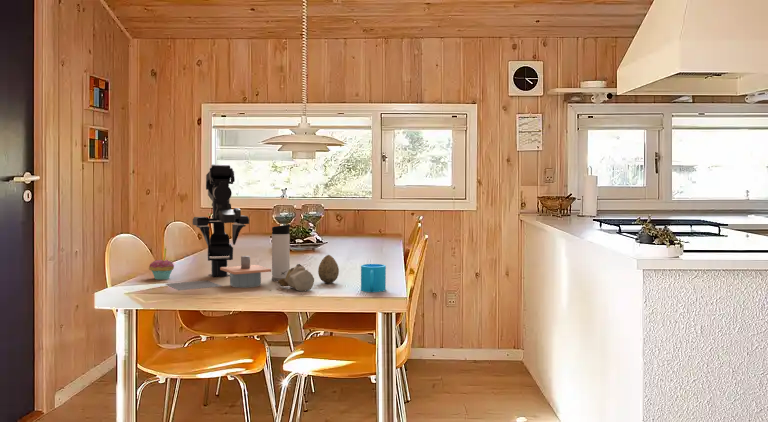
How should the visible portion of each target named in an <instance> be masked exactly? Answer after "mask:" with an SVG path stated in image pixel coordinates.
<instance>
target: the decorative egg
mask: <svg viewBox="0 0 768 422" xmlns="http://www.w3.org/2000/svg"><path fill="white" fill-rule="evenodd" d="M339 272H340V268H339V265H338V263H337V261H336V259H335V258H334V257H333V256H332V255H330V254H327V255H325V256H324V257H323V258H322V259H321V260H320V263H319V266H318V270H317V274H318V277H319V279H320V280H321V281H322V282H323V283H324V284H332V283H334V282H335V281H337V280H338V276H339Z"/></svg>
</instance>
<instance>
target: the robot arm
mask: <svg viewBox="0 0 768 422" xmlns="http://www.w3.org/2000/svg"><path fill="white" fill-rule="evenodd" d="M234 182H235V171H234V169H233V167H231V165H230V164H211V166H210V167H209V171H208V172H207V173H206V175H205V190H207V196H208V197H209V199H210V200H211V202H212V203H211V207H212V214H211V218H210V217H208V216H194V217H193V218H192V225H193V226H195V227H196V228H198V229H199V230H200V232H201V234H202V236H203V237H204V240H205V243H206V246H207V255H206V256H207V261H210V262H211V265H210V266H211V273H209V274H208V276H209V277H211V278H222V277H223V278H225V277H226V278H227V277H230V274H229V273H228V272H226V271H223V270H220V267H228V261H232V260H233V259H234V247H233V246H235V245H236V242H237V241H238V237H239V235H240V232H241V230H242V229H243V228H244V227H246V226H247V225H250V217H249V216H248V215H243V214H242V213H241V210H242V209H240V207H239V208H235V207H234V208H233V209H232V204H231V202H230V199H231V197H232V195H233V193H232V189H231V188H230V185H233V184H234ZM229 223H230V224H232V225H231V226H232V228H231V231H232V233H231V234H232V236H231V237H232V243H230V237H229V234H228V233H226V232H225V229H226V228H225V224H229ZM209 224H210V225H211V224H212V229H213V233H212V234H210V229H211V226H209ZM210 235H211V236H210Z"/></svg>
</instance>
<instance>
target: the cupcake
mask: <svg viewBox="0 0 768 422" xmlns="http://www.w3.org/2000/svg"><path fill="white" fill-rule="evenodd" d="M166 256H167V247H164V250H163V259H156V260H153V261H152V262H150V264H149V266H148V270H149V271H151V272H152V274H153V277H154V279H155V280H168V279H170V277H171V274H172V271H174V268H175V264H174V263H172V261H169V260H167V259H166Z"/></svg>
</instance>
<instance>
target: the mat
mask: <svg viewBox="0 0 768 422" xmlns="http://www.w3.org/2000/svg"><path fill="white" fill-rule="evenodd" d="M165 285H166V286H169V287H171V288H173V289H175V290H177V291H186V290H196V289H209V288H217V287H218V288H219V287H221V288H222V285H221V284H218V283H215V282H213V281H211V280H206V279H205V280H195V281H193V280H192V281H182V282H181V281H180V282H169V283H168V282H167V283H165Z"/></svg>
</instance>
